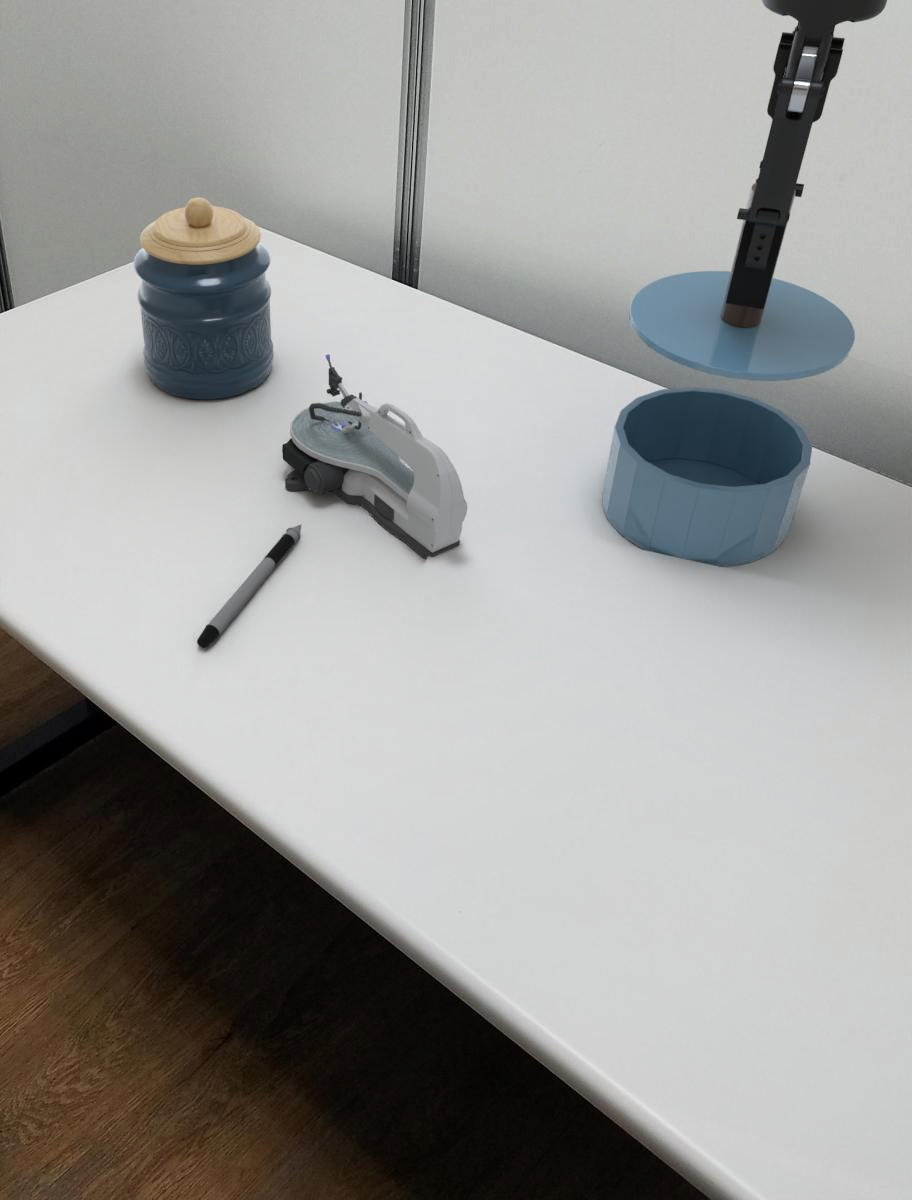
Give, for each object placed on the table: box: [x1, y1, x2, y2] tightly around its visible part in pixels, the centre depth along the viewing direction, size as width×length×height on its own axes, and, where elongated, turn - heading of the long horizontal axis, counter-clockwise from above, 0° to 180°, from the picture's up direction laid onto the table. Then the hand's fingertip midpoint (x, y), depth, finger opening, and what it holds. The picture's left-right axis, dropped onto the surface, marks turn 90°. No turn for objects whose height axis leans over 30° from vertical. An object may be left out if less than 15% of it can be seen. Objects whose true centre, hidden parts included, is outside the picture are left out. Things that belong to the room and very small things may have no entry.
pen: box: [196, 523, 303, 649], centre depth 94 cm, size 1×16×1 cm, turn 153°
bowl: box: [601, 386, 813, 567], centre depth 99 cm, size 15×16×8 cm
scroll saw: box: [281, 353, 468, 560], centre depth 100 cm, size 20×11×12 cm
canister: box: [133, 197, 274, 400], centre depth 114 cm, size 13×13×18 cm
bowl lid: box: [628, 182, 856, 382], centre depth 87 cm, size 16×16×11 cm
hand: (747, 292), depth 88 cm, fingers closed on bowl lid, 3 cm apart
